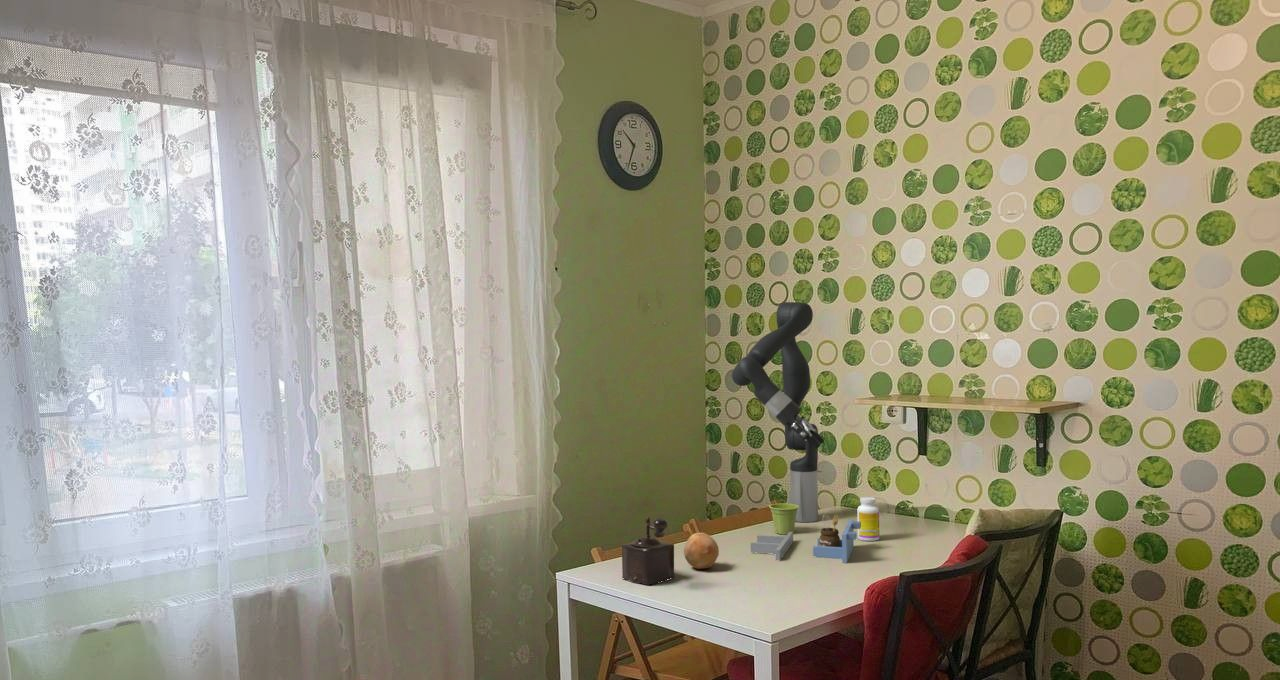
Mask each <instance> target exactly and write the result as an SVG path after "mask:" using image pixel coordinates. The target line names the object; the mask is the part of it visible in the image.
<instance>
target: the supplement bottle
mask: <svg viewBox="0 0 1280 680" xmlns="http://www.w3.org/2000/svg"><path fill="white" fill-rule="evenodd" d="M859 500H860V501H859V502H860V505H859V506H858V507H857V511H856V513H857V516H856V517H857V518H856V519H857V520H856V521H859V522H861V528H860V529H857V539H859V541H863V542H877V541H878V540H880V508H879V507H878V506H876V501H877V499H876V498H875V497H872V496H862V497H860V499H859ZM876 540H877V541H876Z"/></svg>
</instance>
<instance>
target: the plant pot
mask: <svg viewBox="0 0 1280 680" xmlns="http://www.w3.org/2000/svg"><path fill="white" fill-rule="evenodd" d="M768 507H769V508H770V512H771V515H772V523H773V528H774V533H776V534H777V533H778V534H777V535H787V534H788V533H789V532H793V534H794V532H795V525H796V521H795V518H796V513H797V508H799V506H798V505H794V504H789V503H772V504H769V506H768Z"/></svg>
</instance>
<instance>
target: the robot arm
mask: <svg viewBox="0 0 1280 680" xmlns="http://www.w3.org/2000/svg"><path fill="white" fill-rule="evenodd" d="M813 318H814V313H813V309H812V306H811V305H810V304H808V303H806V302H801V301H800V302H799V301H798V302H794V301H793V302H792V301H791V302H790V301H787V302H786V301H785V302H781V303H780V304H779V305H778V307H777V310H776V325H777V328H776V329H774V330H772V331H771V332H769V333H767V334H765V335H764V336H763V337H761V338H760V339H759V340H758V341H757V342H756V343H755V344H754V346H753V347H751V349H750V350H749V352H748V353H747V355H745V356H744V357H741V359H740V360H739V361H738V362H737V364H736V366H734V368H733V370H732V372H731V377H732V381H733V382H734V384H736V385H738V386H740V387H745V386H748V385H750V384H751V383H752V386H753V387H754V390H753V395H754V396H755V398H756V399H757V400H758V401H760V403H761V404H762V405H764V406H765V408H766V409H767V411H768V412H770V414H771V415H773V416H774V418H776V420H777V421H778V422H780V423H781V425H783V426H784V440H785V441H784V442H785V445H786V447H787V449H788V450H792V451H805V454H804V456H802V457H801V458H798V459H794V460H792V461H791V462H790V463H789V465H790V467H789V470H790V472H789V476H790V477H789V478H790V480H789V481H790V490H789V492H788V495H789V496H788V498H789V500H788V502H789V503H788V504H794V505H798V506H799V508H797V513H796V518H795V523H796V522H798V523H813V522H817V521H818V520H819V494H818V492H819V491H818V490H819V489H818V488H819V487H818V486H819V483H818V481H819V480H818V463H819V454H818V453H819V451H818V450H819V449H818V448H819V447H820V446H821V445H822V444H823V443H824V442H825V438H823V437H822V436H821V434H820V433H819V429H818V427H817V425H816V424H814V423H810V422H809V421H808V420H807V419H806V418H805V416H803V415H802V416H799V415H800V413H801V412H802V409H801V407H800V406H801V404H802V403H803V401H804V399H805V397H806V396H807V394H808V392H809V390H810V389H811V388H810V387H811V374H810V372H811V371H810V366H809V363H808V361H807V359H806V358H805V356H804V354H803V351H801V349H800V347H799V346H798V342H797V340H796V337H797V336H799V335H800V334H802V332H804V331H805V330H806V329H808V327H810V325H811V324H812V321H813ZM779 351H780V354H781V366H782V367H781V371H782V375H781V376H782V387H783V391H782V390H781V389H780V388H779V387H778V386H777V385H776V383H774V382H773V381H772V379H771V378H770V377H769V375H768V373H767V372H766V371H765V369H764V367H765V366H766V365H767V364H768V363H770V361H771V360H772V359H773V358H774V357H775V355H776V354H778V352H779Z"/></svg>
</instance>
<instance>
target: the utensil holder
mask: <svg viewBox="0 0 1280 680" xmlns="http://www.w3.org/2000/svg"><path fill="white" fill-rule="evenodd" d="M821 517H822V522H821V524H822V526H823V527H822V528H821V529H820V536H819V538H820V546H828V547H840V539H841V538H840V535H839V534H840V531H839V529H837V528H836V526H837V525H838V521H839V514H834V515H833V521H832V525H833V527H828V525H826V524H825V523H824V520H825V522H830V516H829V515H826V518H827V519H828V521H827V519H824V518H825V514H823V516H821Z"/></svg>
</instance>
